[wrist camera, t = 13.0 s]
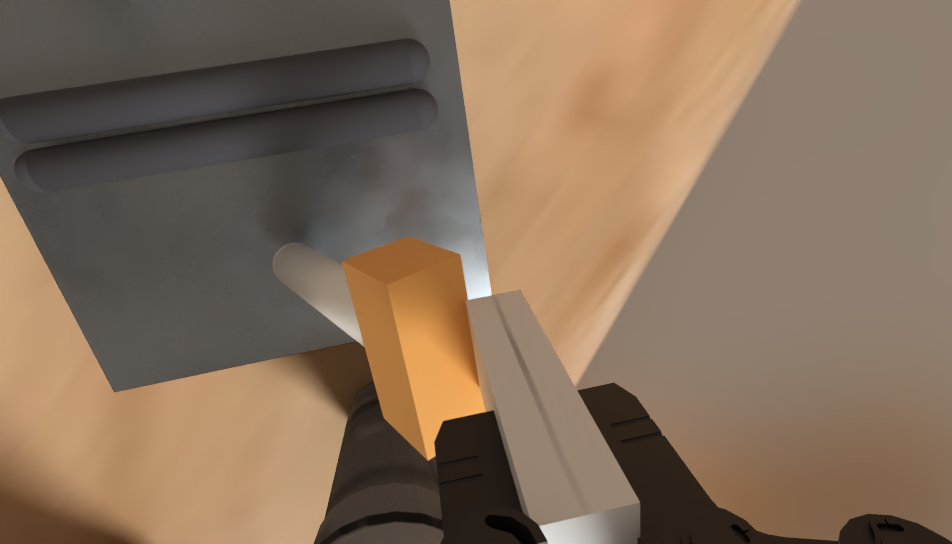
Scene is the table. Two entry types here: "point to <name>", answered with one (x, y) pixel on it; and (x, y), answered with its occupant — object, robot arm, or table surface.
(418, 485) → the beverage cup
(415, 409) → the orange mallet
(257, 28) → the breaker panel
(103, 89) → the cord bundle
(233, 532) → the table surface
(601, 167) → the table surface
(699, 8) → the table surface
